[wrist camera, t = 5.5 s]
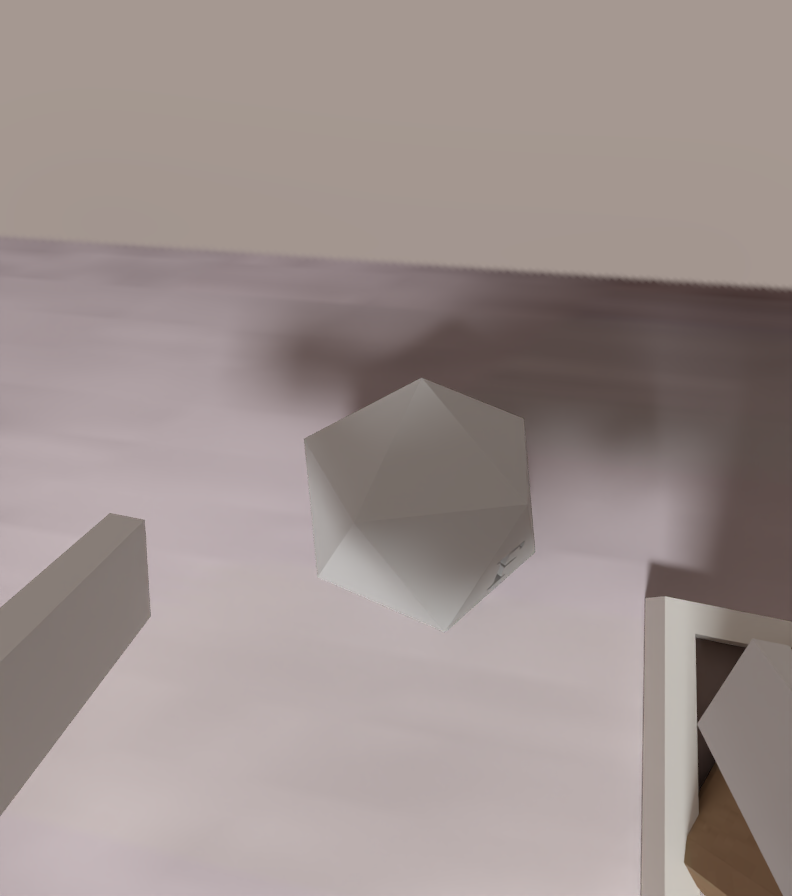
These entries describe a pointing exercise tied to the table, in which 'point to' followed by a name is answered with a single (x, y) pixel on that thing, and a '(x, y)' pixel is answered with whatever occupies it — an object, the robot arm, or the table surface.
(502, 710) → the table surface
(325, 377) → the table surface
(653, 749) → the base frame
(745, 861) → the wooden block
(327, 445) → the die
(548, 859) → the table surface
